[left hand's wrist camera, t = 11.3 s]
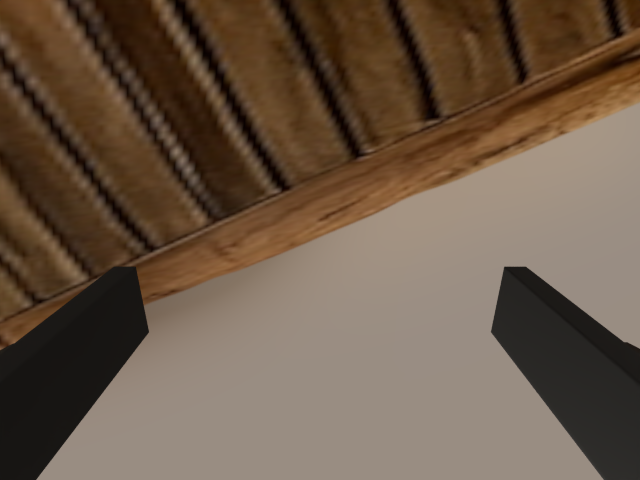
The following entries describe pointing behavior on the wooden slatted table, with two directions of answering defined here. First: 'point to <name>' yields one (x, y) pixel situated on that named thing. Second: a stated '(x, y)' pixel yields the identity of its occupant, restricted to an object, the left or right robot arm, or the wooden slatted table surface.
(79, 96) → the wooden slatted table surface
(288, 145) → the wooden slatted table surface
